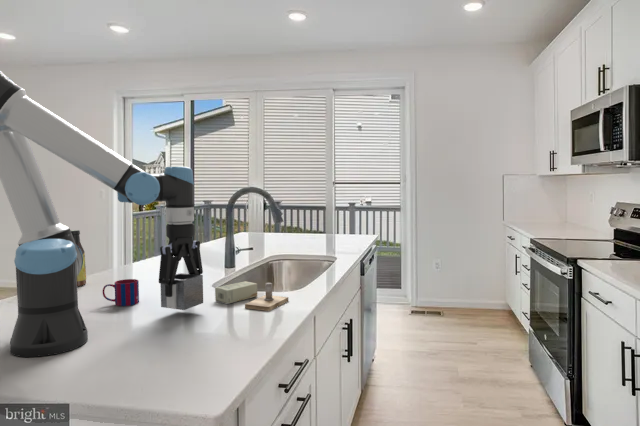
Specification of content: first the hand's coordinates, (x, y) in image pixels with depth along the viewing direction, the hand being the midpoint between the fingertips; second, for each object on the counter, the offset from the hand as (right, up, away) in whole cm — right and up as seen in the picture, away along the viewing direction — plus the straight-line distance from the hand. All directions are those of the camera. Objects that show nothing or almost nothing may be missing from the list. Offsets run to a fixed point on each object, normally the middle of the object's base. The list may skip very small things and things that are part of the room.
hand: (182, 304), depth 128 cm
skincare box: (+8, 0, +11) cm, 14 cm away
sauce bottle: (-49, -1, +37) cm, 61 cm away
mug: (-22, -2, +11) cm, 25 cm away
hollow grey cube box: (0, 0, 0) cm, 0 cm away
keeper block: (+23, -2, +10) cm, 25 cm away
